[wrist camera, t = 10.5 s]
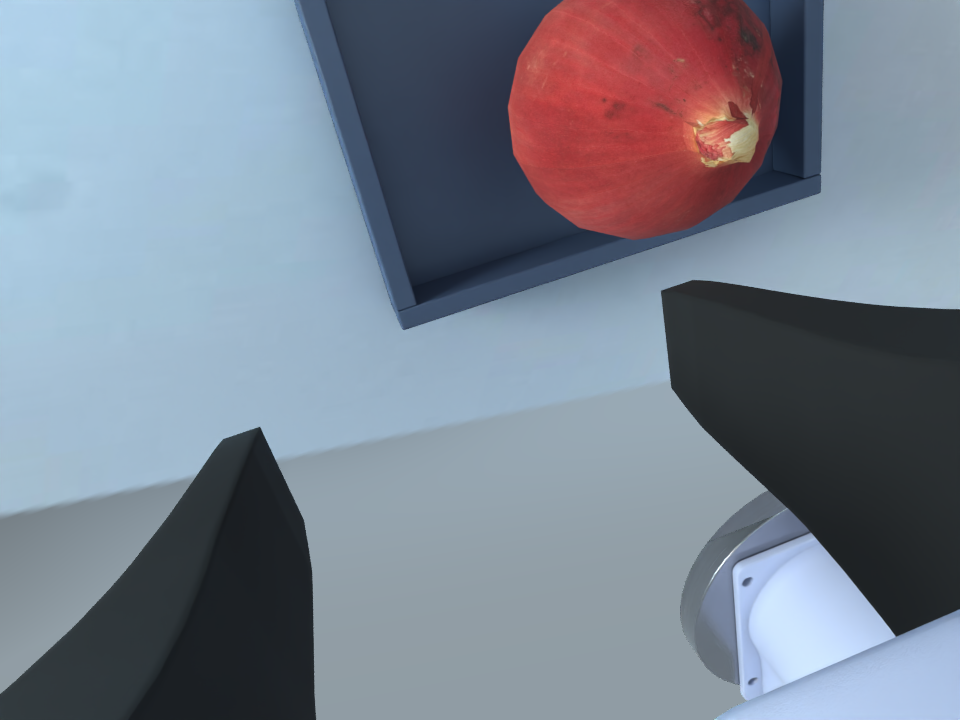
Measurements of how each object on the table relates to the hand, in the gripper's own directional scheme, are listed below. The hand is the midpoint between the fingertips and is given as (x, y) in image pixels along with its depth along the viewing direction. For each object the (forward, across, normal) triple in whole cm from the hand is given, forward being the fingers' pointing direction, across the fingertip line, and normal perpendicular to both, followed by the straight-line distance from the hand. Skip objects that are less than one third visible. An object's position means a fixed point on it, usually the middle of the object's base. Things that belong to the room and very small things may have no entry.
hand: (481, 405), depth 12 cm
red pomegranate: (+9, -6, -3) cm, 11 cm away
